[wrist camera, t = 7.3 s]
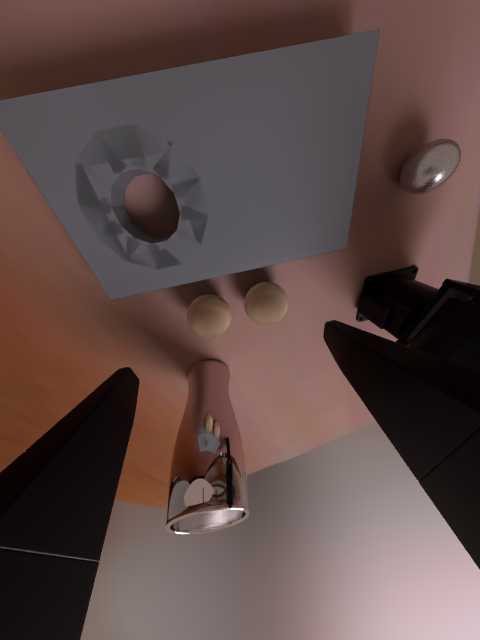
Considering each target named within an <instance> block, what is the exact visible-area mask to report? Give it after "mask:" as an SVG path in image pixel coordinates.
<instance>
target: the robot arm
mask: <svg viewBox="0 0 480 640" xmlns="http://www.w3.org/2000/svg"><path fill="white" fill-rule="evenodd" d="M413 270H414V271H413ZM412 271H413V272H412ZM417 272H418V267H415V266H413V267H409V268H404V269H400V270H395V271H390V272H386V273H381V274H377V275H372V276H369V277H367V278H366V279H365V281H364V286H363V290H362V294H361V297H360V302H359V306H358V313H357V317H356V320H357V321H359V322H361V321H365V320H370V321H371V322H372V323H374V324H375V325H376V326H378V327H379V328H380V329H385V330H386V331H388V332H389V333H390V334H392V335H393V336H394V337H396V338H397V339H398V340H397V341H396V342H393V341H391V340H388V339H385V338H382V337H380V336H377V335H374V334H372V333H369V332H366V331H363V330H361V329H358V328H355V327H352V326H350V325H347V324H344V323H342V322H339V321H336V320H332V321H328V322H326V323H325V326H324V341H325V342H326V344H327V346H328V348H329V350H330V352H331V353H332V355H333V357H334V359H335V361H336V363H337V364H338V366H339V368H340V369H341V371H342V373H343V374H344V375H345V377H346V378H347V380H348V381H349V383H350V384H351V385H352V387H353V388H354V390H355V391H356V393H357V394H358V395H359V397H360V398H361V400H362V401H363V403H364V404H365V406H366V407H367V408H368V410H369V411H370V413H371V414H372V416H373V417H374V418H375V420H376V421H377V423H378V424H379V426H380V427H381V428H382V430H383V431H384V433H385V434H386V435H387V437H388V438H389V440H390V441H391V443H392V444H393V445H394V447H395V449H396V450H397V451H398V453H399V454H400V456H401V457H402V459H403V460H404V461H405V463H406V464H407V466H408V467H409V468H410V470H411V471H412V473H413V474H414V476H415V477H416V479H417V480H418V481H419V483H420V485H421V486H422V488H423V489H424V490H425V492H426V493H427V495H428V496H429V497H430V499H431V500H432V501H433V503H434V505H435V506H436V507H437V509H438V510H439V512H440V513H441V515H442V516H443V518H444V519H445V520H446V522H447V523H448V525H449V526H450V528H451V529H452V530H453V532H454V533H455V535H456V536H457V538H458V539H459V541H460V542H461V543H462V545H463V546H464V548H465V549H466V551H467V552H468V553H469V554H470V556H471V558H472V559H473V561H474V562H475V563H476V565H477V566H478V568H479V569H480V286H479V285H474V284H470V283H465V282H460V281H456V280H451V279H446V280H445V281H444V282H443V283H442V284H443V285H442V286H441V287H440V289H437V288H434V287H431V286H429V285H426V284H424V283H421V282H418V281H416V280H415V277H416V274H417ZM370 279H371V280H370ZM369 280H370V281H369ZM368 281H369V282H368ZM138 389H139V379H138V377H137V376H136V375H135V373H134V372H133V371H132V369H131V368H129V367H125V368H121V369H118V370H117V371H116V372H115V373H114V374H112V375H111V376H110V377H109V378H108V379H107V380H106V381H105V382H103V383H102V384H101V385H100V386H99V387H98V388H97V389H95V390H94V391H93V392H92V393H91V394H90V395H89V396H87V397H86V398H85V399H84V400H83V401H82V402H81V403H79V404H78V405H77V406H76V407H75V408H74V409H73V410H71V411H70V412H69V413H68V414H67V415H66V416H65V417H63V418H62V419H61V420H60V421H59V422H58V423H57V424H55V425H54V426H53V427H52V428H51V429H50V430H49V431H48V432H46V433H45V434H44V435H43V436H42V437H41V438H40V439H38V440H37V441H36V442H35V443H34V444H33V445H32V446H30V447H29V448H28V449H27V450H26V452H24V453H22V454H21V455H20V456H19V457H18V458H17V459H16V460H14V461H13V462H12V463H11V464H10V465H9V466H8V467H6V468H5V469H4V470H3V471H2V472H1V473H0V640H80V638H81V634H82V630H83V625H84V622H85V617H86V614H87V610H88V605H89V601H90V597H91V593H92V589H93V585H94V581H95V577H96V573H97V569H98V565H99V562H98V561H99V560H100V556H101V552H102V548H103V544H104V540H105V536H106V532H107V528H108V523H109V519H110V515H111V511H112V507H113V503H114V499H115V495H116V491H117V487H118V483H119V479H120V475H121V471H122V467H123V462H124V458H125V454H126V450H127V446H128V442H129V438H130V434H131V430H132V426H133V422H134V417H135V411H136V404H137V397H138Z"/></svg>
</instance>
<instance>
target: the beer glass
mask: <svg viewBox="0 0 480 640" xmlns="http://www.w3.org/2000/svg"><path fill="white" fill-rule="evenodd" d="M229 379H230V372H229V369H228V367H227V366H226V365H225V364H224V363H222V362H220V361H216V360H204V361H200V362H198V363H196V364H194V365H193V366H192V367H191V368H190V369H189V371H188V375H187V380H188V400H187V404H186V408H185V411H184V414H183V418H182V421H181V424H180V428H179V431H178V435H177V439H176V443H175V447H174V452H173V458H172V464H171V473H170V481H169V494H168V509H167V521H166V527H165V529H166V531H167V532H169V533H171V534H176V535H192V534H201V533H207V532H213V531H217V530H221V529H224V528H227V527H230V526H233V525H236V524H238V523H240V522H242V521H244V520H245V519H246V518H247V517H248V516H249V507H248V495H247V480H246V467H245V458H244V451H243V445H242V439H241V435H240V431H239V427H238V424H237V420H236V417H235V414H234V411H233V407H232V404H231V400H230V396H229Z"/></svg>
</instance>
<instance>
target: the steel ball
mask: <svg viewBox="0 0 480 640" xmlns="http://www.w3.org/2000/svg"><path fill="white" fill-rule="evenodd" d="M460 159H461V150H460V147H459V145H458V144H457V143H456V142H455V141H453V140H450V139H438V140H434V141H431V142H429V143H427V144H425V145H423V146H421V147H420V148H419V149H417V150H416V151H415V152H414V153H413V154H412V155H411V156H410V157H409V158H408V159H407V161H406V162H405V164H404V165H403V168H402V170H401V173H400V185H401V187H402V189H403V190H404V191H405V192H407V193H410V194H424V193H427V192H430V191H432V190H434V189H436V188H438V187H439V186H441V185H442V184H443V183H445V182H446V181H447V180H448V179H449V178H450V177H451V176H452V174H453V173H454V172H455V170H456V169H457V167H458V165H459V162H460Z"/></svg>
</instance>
